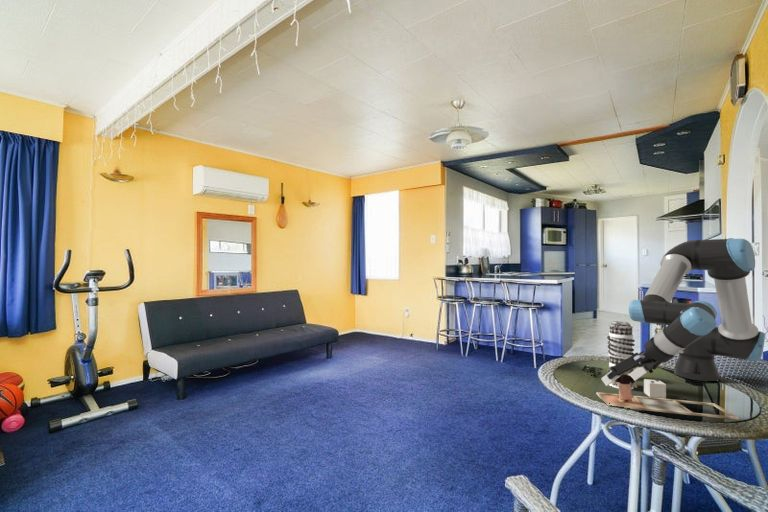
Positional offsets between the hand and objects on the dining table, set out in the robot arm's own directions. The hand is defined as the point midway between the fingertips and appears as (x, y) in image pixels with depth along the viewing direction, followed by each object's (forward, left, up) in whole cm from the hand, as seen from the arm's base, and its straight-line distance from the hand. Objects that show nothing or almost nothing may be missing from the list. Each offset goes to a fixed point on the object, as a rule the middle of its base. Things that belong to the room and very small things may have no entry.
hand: (617, 380), depth 128 cm
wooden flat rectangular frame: (-11, +6, -7) cm, 15 cm away
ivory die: (-18, -3, -7) cm, 19 cm away
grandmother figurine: (-1, +1, -7) cm, 7 cm away
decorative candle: (-14, -14, -7) cm, 21 cm away
